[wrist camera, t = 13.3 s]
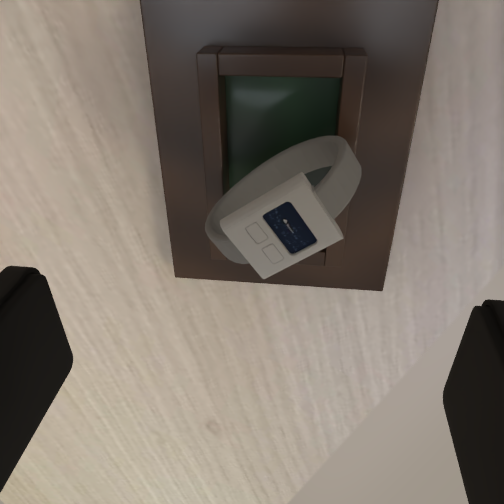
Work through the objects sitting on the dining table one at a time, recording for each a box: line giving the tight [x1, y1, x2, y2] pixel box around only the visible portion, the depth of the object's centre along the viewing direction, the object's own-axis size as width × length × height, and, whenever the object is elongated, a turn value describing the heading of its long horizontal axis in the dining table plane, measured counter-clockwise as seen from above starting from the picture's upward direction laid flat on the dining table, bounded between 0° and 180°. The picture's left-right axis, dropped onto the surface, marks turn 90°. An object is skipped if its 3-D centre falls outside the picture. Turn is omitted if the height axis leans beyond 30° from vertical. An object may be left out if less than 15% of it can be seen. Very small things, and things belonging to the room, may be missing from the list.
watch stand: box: [140, 0, 439, 291], centre depth 20 cm, size 14×11×2 cm
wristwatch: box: [205, 136, 361, 279], centre depth 17 cm, size 6×3×5 cm, turn 124°
